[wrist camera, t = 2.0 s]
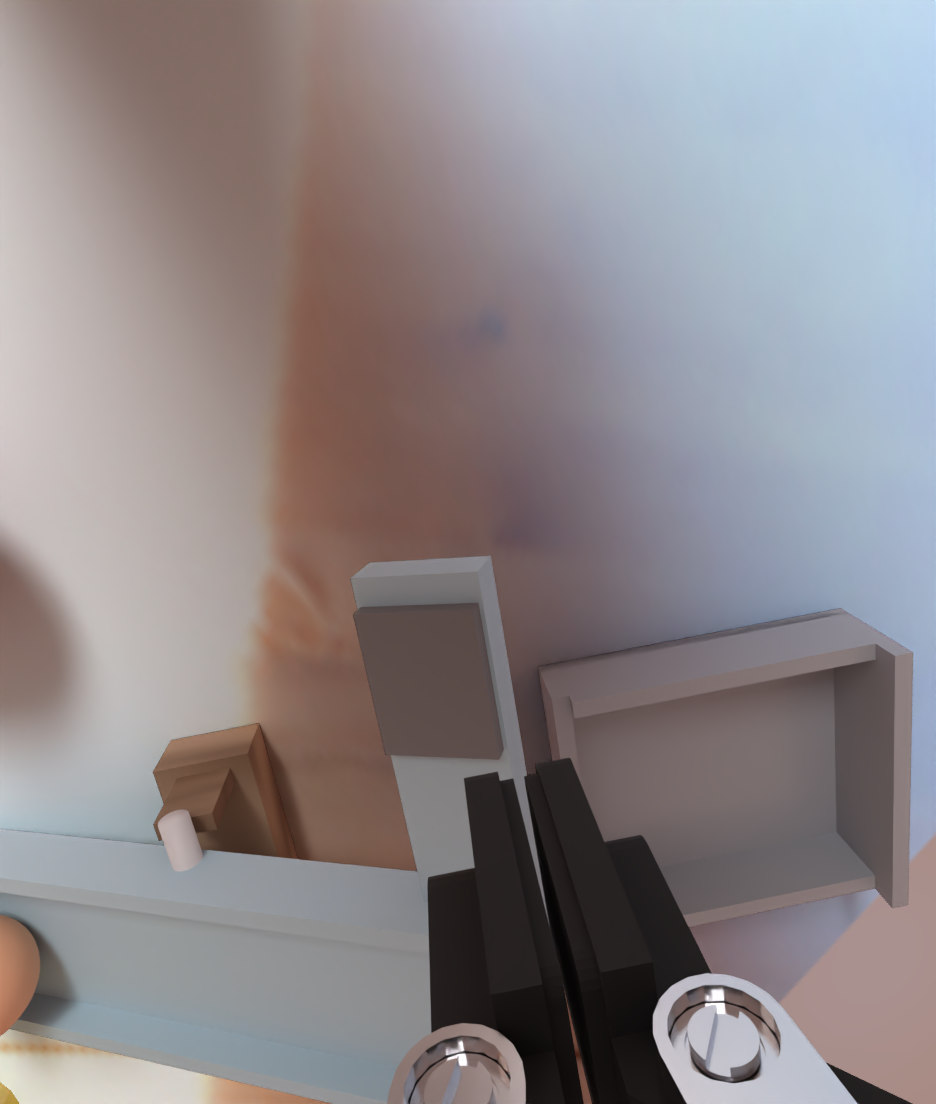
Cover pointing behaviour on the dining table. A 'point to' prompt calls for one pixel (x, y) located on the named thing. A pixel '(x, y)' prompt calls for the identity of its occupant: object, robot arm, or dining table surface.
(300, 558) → the dining table surface
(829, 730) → the dish
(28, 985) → the ball
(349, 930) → the lever
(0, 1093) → the cheese
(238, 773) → the fulcrum
